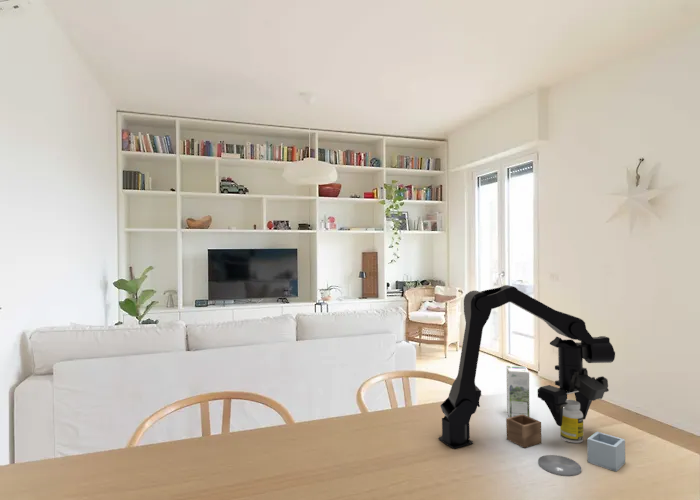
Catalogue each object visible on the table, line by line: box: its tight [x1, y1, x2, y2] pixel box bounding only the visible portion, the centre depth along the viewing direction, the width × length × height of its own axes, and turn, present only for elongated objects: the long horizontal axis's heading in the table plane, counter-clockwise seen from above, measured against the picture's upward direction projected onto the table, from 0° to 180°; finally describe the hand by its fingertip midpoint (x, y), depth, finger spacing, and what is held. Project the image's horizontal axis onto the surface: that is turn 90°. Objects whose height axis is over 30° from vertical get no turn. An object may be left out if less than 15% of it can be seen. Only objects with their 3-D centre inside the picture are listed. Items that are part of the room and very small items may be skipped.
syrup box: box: [506, 365, 531, 418], centre depth 130 cm, size 6×6×14 cm
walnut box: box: [505, 414, 543, 449], centre depth 113 cm, size 6×6×6 cm
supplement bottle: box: [559, 399, 584, 444], centre depth 114 cm, size 5×5×10 cm
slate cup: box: [586, 431, 626, 473], centre depth 101 cm, size 6×6×6 cm
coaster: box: [537, 454, 582, 477], centre depth 100 cm, size 9×9×1 cm
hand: (571, 422), depth 114 cm, fingers open, 9 cm apart
